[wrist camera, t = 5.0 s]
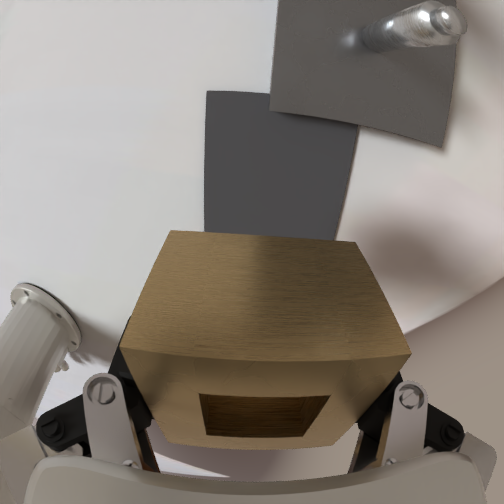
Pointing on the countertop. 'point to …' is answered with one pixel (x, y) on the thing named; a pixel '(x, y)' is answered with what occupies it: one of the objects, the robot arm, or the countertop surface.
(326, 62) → the grey peg stand
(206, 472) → the countertop surface
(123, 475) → the robot arm
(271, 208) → the mat
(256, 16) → the countertop surface
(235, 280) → the collar
